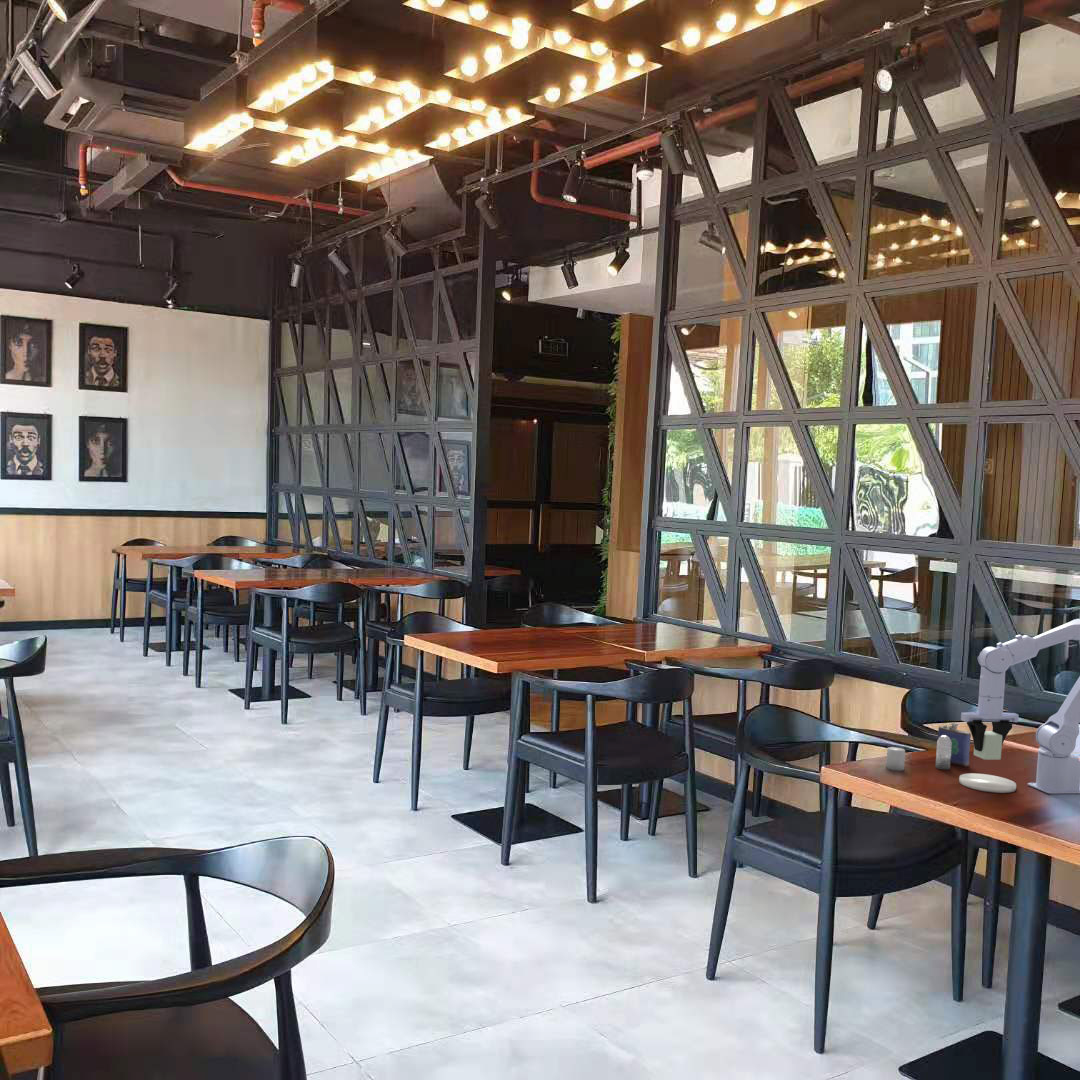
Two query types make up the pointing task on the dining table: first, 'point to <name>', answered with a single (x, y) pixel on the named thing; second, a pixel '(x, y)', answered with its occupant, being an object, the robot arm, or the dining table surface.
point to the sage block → (990, 746)
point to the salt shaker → (943, 752)
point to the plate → (987, 783)
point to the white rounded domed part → (895, 758)
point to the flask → (957, 744)
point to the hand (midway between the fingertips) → (987, 750)
